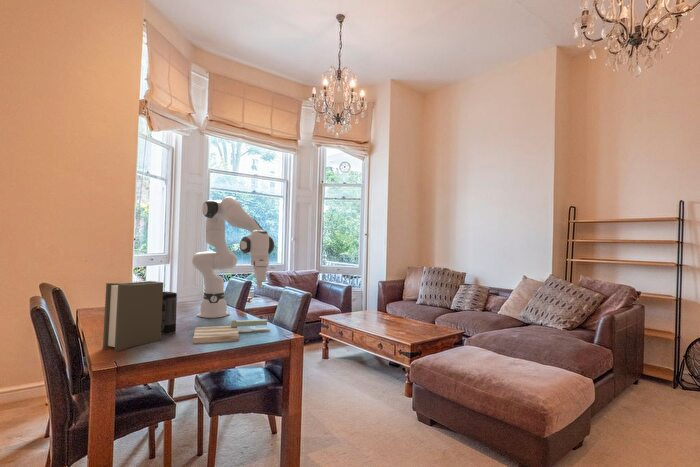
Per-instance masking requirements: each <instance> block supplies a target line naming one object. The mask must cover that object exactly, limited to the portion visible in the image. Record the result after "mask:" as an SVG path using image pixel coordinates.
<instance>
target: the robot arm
mask: <svg viewBox="0 0 700 467" xmlns="http://www.w3.org/2000/svg"><path fill="white" fill-rule="evenodd" d="M202 215H204V217H206V222H205V242H206V243H207V245H209V246H210V247H213V248H214V249H215V251H199V252H196V253H195V254H194V255H193V256H192V259H191V260H192V262H191V263H192V265H193V267H194V268H195V269H196V270H198V272H199V273H201V276H202V278H203V282H204V283H203V284H204V292H203V295H202V296H203V300H201V302H200V308H199V310H200V312H199V313H197V314H196V317H201V318H211V319H213V318H216V319H217V318H222V317H226V316H230V315H231V314H230V312H229V311H228V310H227V309H228V308H227V304H228V303H227V300H226V299H225V290H224V288H225V285H224V284H225V280H224V278H223V277H221V276H220V275H218V274H216V273H215V271H214V270H217V271H218V270H219V271H220V270H221V271H222V270H225V271H226V270H233V269H234V268H235V267H236V266H237V264H238V263H237V262H238V259H237V256H236V253H234V252H232V250H230V249H229V247H228V246H227V242H226V222H227V224H229V225H230V226H232V227H233V228H236V229H237V228H239V229H242V230H247V231H249V232H250V234H249V235H245V236H243V237H242V238H241V239H240V241H239V248H240V250H241V252H242V253H243V254H246V255H250V265H251V266H253V267H252V268H253V270H254V271H253V277H254V278H255V280H256V288H257V290H261V289H262V284H263V283H265V282H266V279H267V272H268V271H267V268H268V267H269V264H270V262H269V260H270V259H269V257H270V254H271V253H272V252H273V251H274V249H275V245H276V244H275V241H274V239H273V238H272V237H271V236H270V235H269V232H268V231H267V230H264V229H263V228H262V226H261V225H260V223H259V222H258V221H257V220H256V218H253V217H252V216H251V215H249V214H248V213H247V212H246V211H245V209H244V208H243V207H242V205H241V203H240V202H239V200H237V199H236V198H235V197H234V196H225V197H223V199H215V200H214V199H209V200H205V201H204V202H203V204H202Z"/></svg>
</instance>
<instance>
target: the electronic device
mask: <svg viewBox="0 0 700 467" xmlns="http://www.w3.org/2000/svg"><path fill="white" fill-rule="evenodd" d="M177 298H178V293H177V292H174V291H173V292H172V291H163V300H162V320H161V335H167V336H169V335H174V334H176V332H177V304H178V303H177V302H178V299H177Z"/></svg>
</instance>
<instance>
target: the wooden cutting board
mask: <svg viewBox="0 0 700 467" xmlns="http://www.w3.org/2000/svg"><path fill="white" fill-rule="evenodd" d="M251 331H255V332H268V331H269V332H270V331H271V330H270V328H269V327H260V328H259V327H258V328H257V327H256V328H240V329H239V327H231V325H220V326H218V325H217V326H202V327H201V326H200V327H195V329H194V334H193V338H192V343H193V344H203V343H205V344H206V343H207V344H208V343H219V342H220V343H221V342H235V341H237V342H238V341H240V340H239V338H240V334H239V333H250V332H251ZM251 333H252V332H251Z"/></svg>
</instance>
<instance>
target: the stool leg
mask: <svg viewBox="0 0 700 467" xmlns="http://www.w3.org/2000/svg"><path fill="white" fill-rule="evenodd" d="M267 319H268V318H267ZM267 319H266V318H265V319H264V318H262V319H247V320H245V319H244V320H241V319H240V320H236V319H232V320H231V321H230V326H231V327H237V328H239V327H240V328H241V327H243V328H244V327H256V326H257V327H258V326H268V320H267Z"/></svg>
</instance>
